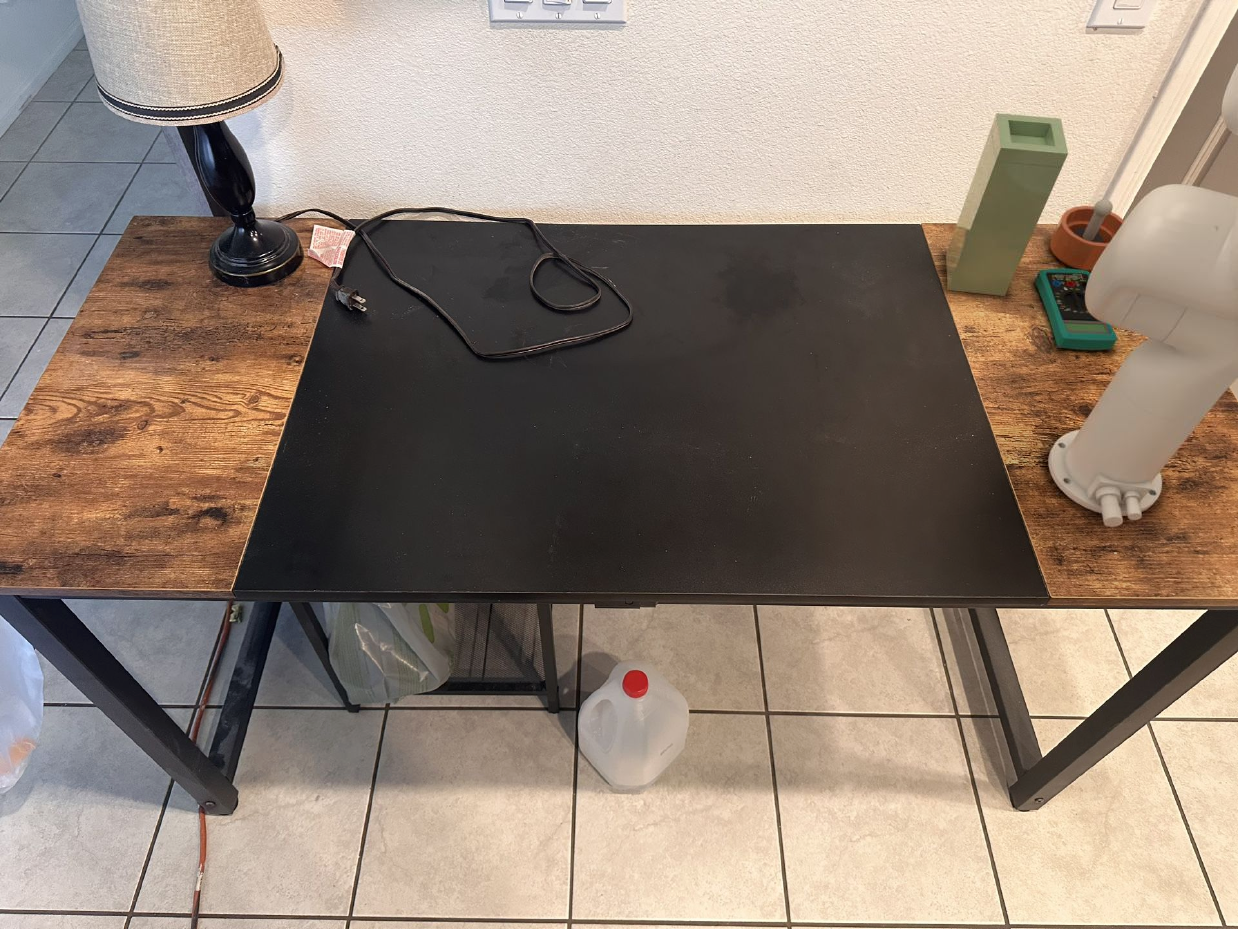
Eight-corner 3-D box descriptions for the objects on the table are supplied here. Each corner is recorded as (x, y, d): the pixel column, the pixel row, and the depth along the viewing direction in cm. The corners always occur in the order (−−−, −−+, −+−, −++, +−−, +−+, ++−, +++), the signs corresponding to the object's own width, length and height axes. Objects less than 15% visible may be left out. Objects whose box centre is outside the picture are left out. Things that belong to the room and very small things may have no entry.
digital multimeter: (1082, 281, 125) (1091, 265, 123) (1111, 353, 116) (1121, 337, 114) (1031, 280, 126) (1038, 263, 123) (1056, 351, 116) (1064, 335, 114)
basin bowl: (1119, 276, 126) (1135, 249, 122) (1051, 269, 127) (1065, 242, 123) (1109, 237, 131) (1124, 209, 127) (1045, 230, 132) (1057, 202, 128)
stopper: (1099, 259, 127) (1125, 211, 120) (1068, 256, 128) (1092, 208, 121) (1095, 241, 130) (1120, 193, 123) (1065, 238, 130) (1088, 190, 124)
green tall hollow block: (1004, 296, 123) (1068, 153, 105) (947, 290, 124) (1001, 147, 106) (1000, 261, 128) (1061, 118, 110) (945, 255, 129) (996, 112, 111)
